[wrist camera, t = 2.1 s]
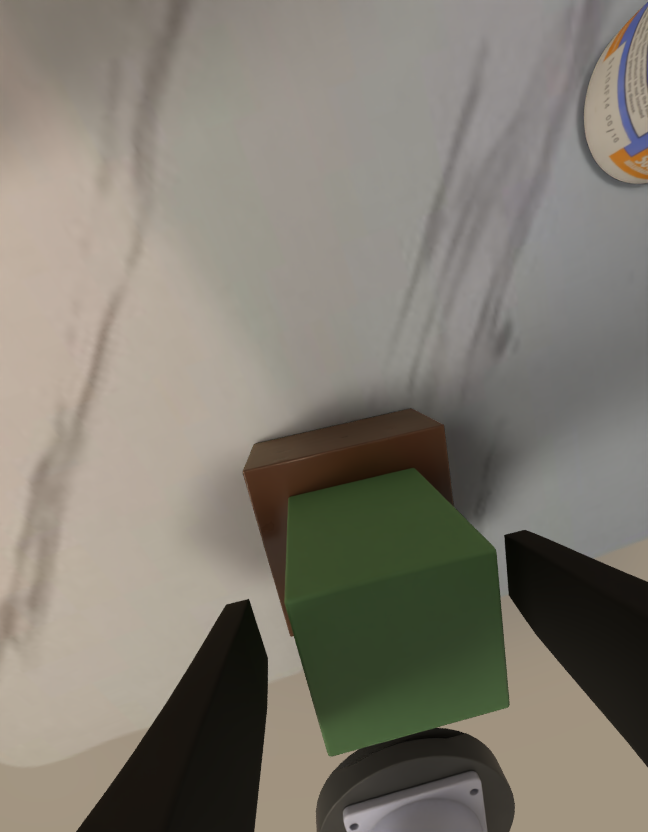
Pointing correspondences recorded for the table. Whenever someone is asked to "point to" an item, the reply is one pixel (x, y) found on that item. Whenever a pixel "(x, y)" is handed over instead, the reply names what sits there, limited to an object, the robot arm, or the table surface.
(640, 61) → the pill bottle
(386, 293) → the table surface
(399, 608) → the green cube
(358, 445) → the walnut block
